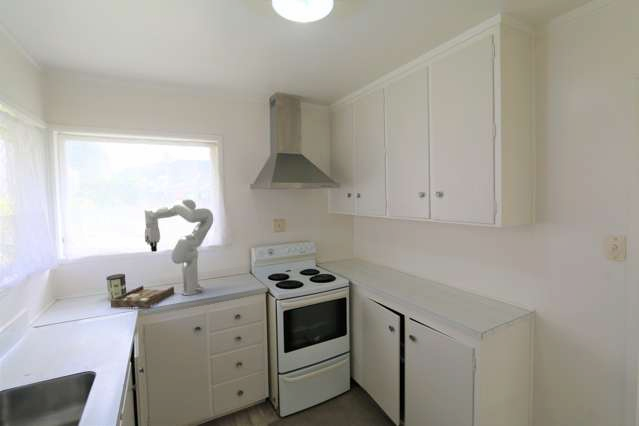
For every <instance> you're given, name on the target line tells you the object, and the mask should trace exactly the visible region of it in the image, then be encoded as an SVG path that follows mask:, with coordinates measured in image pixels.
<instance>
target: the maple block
mask: <svg viewBox="0 0 639 426" xmlns="http://www.w3.org/2000/svg"><path fill="white" fill-rule="evenodd" d="M126 300H140V294H131V295H129V296H127V297H126Z"/></svg>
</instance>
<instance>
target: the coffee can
mask: <svg viewBox="0 0 639 426" xmlns="http://www.w3.org/2000/svg"><path fill="white" fill-rule="evenodd" d="M105 280H106V285H107V286H106V287H107V295H108V298H107V299H108V300H112V299H114V298H116V297H118V296H120V295H123V294H125V293H127V292H128V291H127V283H126V274H124V273H117V274H111V275H109V276H106V278H105Z"/></svg>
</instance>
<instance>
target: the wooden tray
mask: <svg viewBox="0 0 639 426" xmlns="http://www.w3.org/2000/svg"><path fill="white" fill-rule="evenodd" d="M126 292H127V293H125V294H123V295H120V296H118V297H116V298H114V299H112V300H111V299H109V300H110V301H109V303H110V307H111V308H118V307H126V308H127V307H129V308H127V309H134V308H133V307H138V308H137V309H143V308H147V307H149V306H151V305H153V304H154V305H156V304H158V303H159V301H160V302H161V301H163V300H165V299H167V298H168V297H170V296H172V295H174V294H175V287H174V286H171V287H169V288H168V289H145V288H144V285H141V286H138V287H137V288H134V289H131V290H129V291H126ZM131 294H140V300H126V297H127V296H129V295H131ZM157 302H158V303H157ZM155 303H156V304H155ZM154 305H153V306H154ZM130 307H131V308H130ZM151 307H152V306H151ZM126 308H125V309H126ZM149 308H150V307H149ZM147 309H148V308H147Z"/></svg>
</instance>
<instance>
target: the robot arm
mask: <svg viewBox="0 0 639 426" xmlns="http://www.w3.org/2000/svg"><path fill="white" fill-rule="evenodd" d="M196 207H197V204H196V202H195V200H192V199H178V200H176V201H174V202H173V203H171V204H170V206H165V207H164V206H163V207H150V208H149V207H147V208H145V209H144V218H145V229H144V242H145V243H146V244H147V245H149V246H150V249H151V250H150V252H152V253H153V252H157V251H158V249H157V246H158V243H159V242H160V241H161V233H160V232H161V231H160V228H159V219H167V218H168V219H169V218H172V217H177V216H179V217H181V218H182V219H184V220H185V221H186V222H188V223H192V224H193V223H194V224H195V223H197V224H196V225H195V226H194V228H193V230H192V232H191V233H190V234H187V235H184V236H182V237H180V238H179V239H178V240H177V243H176V245H175V246H174V248H173V251H172V253H171V260H172V262H173V263H174V264H177V265H181V264H182V266H181V268H182V269H181V272H182V285H183V287H182V288H183V289H182V290H181V292H180V293H181V295H182V296H192V295H196V294H199V293H200V292H202V291H203V290H204V286H201V284H199V272H198V257H199V251H198V248H200V247H201V246H202V244H203V243H204V241H205V238H206V237H207V235H208V232H209V231H210V230H211V228H212V226H213V224H214V223H213V222H214V214H213V211H212V210H210V209H209V208H205V207H203V208H196Z"/></svg>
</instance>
